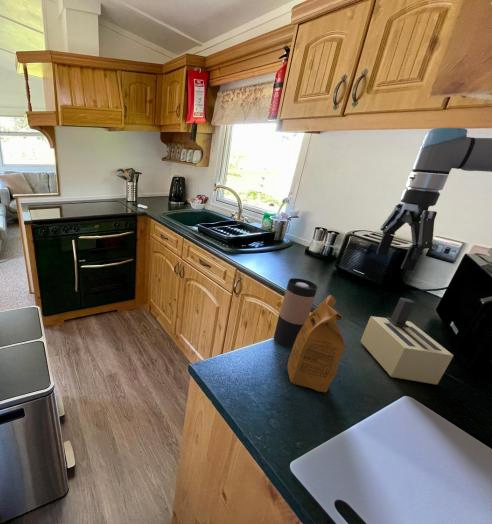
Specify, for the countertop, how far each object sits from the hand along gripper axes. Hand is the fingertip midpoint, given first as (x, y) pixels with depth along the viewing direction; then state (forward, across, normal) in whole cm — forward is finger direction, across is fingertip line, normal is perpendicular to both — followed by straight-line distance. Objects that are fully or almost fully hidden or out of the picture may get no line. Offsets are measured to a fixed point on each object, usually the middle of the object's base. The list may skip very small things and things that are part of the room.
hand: (392, 261), depth 87 cm
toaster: (+26, +13, +3) cm, 30 cm away
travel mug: (+27, +13, -27) cm, 40 cm away
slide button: (+16, +8, +2) cm, 18 cm away
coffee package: (+27, +28, -25) cm, 46 cm away
